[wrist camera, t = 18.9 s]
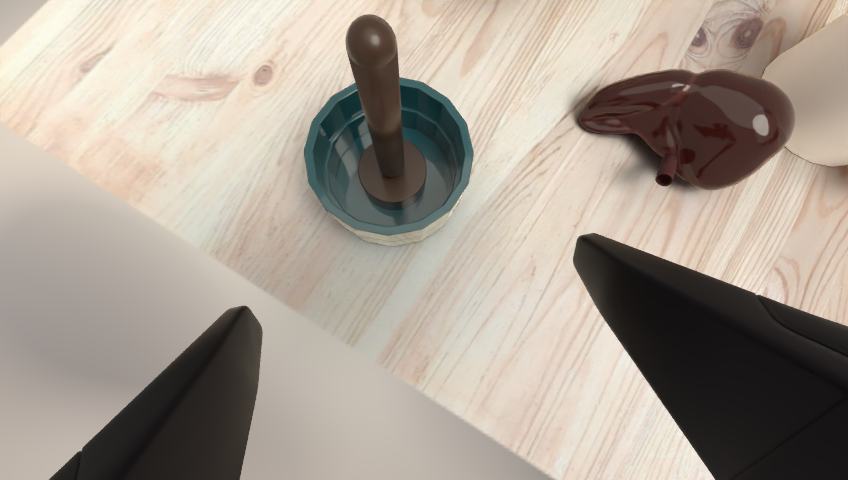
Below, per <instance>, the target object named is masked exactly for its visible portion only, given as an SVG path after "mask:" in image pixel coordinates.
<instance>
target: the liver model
mask: <svg viewBox="0 0 848 480" xmlns="http://www.w3.org/2000/svg"><path fill="white" fill-rule="evenodd" d="M579 122H580V124H581V125H582V126H583V127H584V128H585V129H587V130H589V131H592V132H595V133H600V134H626V133H635V134H637V135H639V136H640V137H641V138H642V139H643V140H644V141H645V142H646V143H647V144H648V145H649V146H650V148H651V149H652V150H653V151H654V152H655V153H656V154H658V155H659V156H661V157H662V162H661V165H660V168H659V170H658V173H657V176H656V182H657V183H658V184H659V185H662V186H668V185H670V184H671V183H672V182H673V178H674V175H675V174H676V175H678V176H679V177H680V178H682V179H683V180H685V181H687V182H688V183H690V184H691V185H693V186H695V187H697V188H700V189H704V190H718V189H723V188H726V187H730V186H733V185H735V184H738V183H740V182H741V181H743V180H745V179H746V178H748V177H750V176H751V175H753V174H754V173H755V172H757V171H758V170H759V169H760V168H761V167H762V166H764V165H765V164H766V163H767V162H768V161H769V160H770V159H771V158H773V157H774V156H775V155H776V154H777V153H778V152H780V151H781V150H782V149H783V148H784V146H785V145H786V144H787V143H788V141H789V139H790V137H791V135H792V133H793V130H794V126H795V111H794V108H793V105H792V103H791V101H790V99H789V97H788V96H787V95H786V93H785V92H784V91H783V90H782V89H780V88H779V87H778V86H776V85H775V84H773V83H772V82H770V81H767V80H765V79H762V78H759V77H755V76H751V75H747V74H743V73H740V72H736V71H731V70H725V69H714V70H708V71H705V72H701V73H694V72H691V71H689V70H684V69H669V70H663V71H657V72H651V73H646V74H641V75H637V76H633V77H629V78H626V79H623V80H619V81H617V82H614V83H611V84H609V85H607V86H605V87H603V88H601V89H600V90H598V91H597V92H595V93H594V94H593V95H592V96H591V97H590V98H589V99H588V100H587V101H586V103H585V104H584V106H583V108H582V110H581V112H580V115H579Z"/></svg>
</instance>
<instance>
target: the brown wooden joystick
mask: <svg viewBox="0 0 848 480" xmlns="http://www.w3.org/2000/svg"><path fill="white" fill-rule="evenodd" d="M346 49H347V53H348V57H349V61H350V64H351V68H352V71H353V75H354V79H355V82H356V86H357V90H358V93H359V97H360V100H361V104H362V108H363V111H364V115H365V118H366V122H367V126H368V129H369V133H370V137H371V140H372V144H371V145H370V146H368V147H367V148H366V150H365V151H364V152H363V154H362V156H361V158H360V161H359V165H358V176H359V180H360V182H361V184H362V186H363V189H364V191H365V193H366V194H367V196H368V197H369V199H370V200H371V201H372V202H373V203H375V204H376V205H378V206H379V207H382V208H384V209H388V210H400V209H404V208H407V207H409V206H411V205H412V204H414V203H415V202H416V201H417V200H418V199H419V198H420V196H421V195H422V193H423V191H424V188H425V182H426V174H427V166H426V161H425V158H424V156H423V154H422V153H421V151H420V150H419V149H418V148H417V147H416V146H415V145H414V144H413V143H411V142H409V141H407V140H405V139H403V130H402V114H401V99H400V83H399V67H398V52H397V41H396V37H395V34H394V32H393V30H392V28H391V27H390V25H389V24H388V23H387V22H386V21H385V20H384V19H382V18H380V17H378V16H376V15H363V16H360V17H358V18H357V19H356V20H354V21H353V22H352V24H351V25H350V27H349V29H348V31H347V35H346Z"/></svg>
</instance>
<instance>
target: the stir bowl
mask: <svg viewBox="0 0 848 480" xmlns="http://www.w3.org/2000/svg"><path fill="white" fill-rule="evenodd" d="M399 83H400V99H401V114H402V130H403V139H405V140H407V141H409V142H411V143H413V144H414V145H415V146H416V147H417V148H418V149H419V150H420V151H421V153H422V154H423V156H424V158H425V161H426V166H427V174H426V182H425V188H424V191H423V193H422V195H421V196H420V198H419V199H418V200H417V201H416V202H415V203H414V204H412V205H411V206H409V207H407V208H404V209H400V210H388V209H384V208H382V207H379V206H378V205H376V204H375V203H373V202H372V201H371V200H370V199H369V197H368V196H367V194H366V193H365V191H364V189H363V186H362V184H361V182H360V180H359V176H358V165H359V161H360V158H361V156H362V154H363V152H364V151H365V150H366V148H367V147H368V146H370V145H371V144H372V140H371V137H370V133H369V129H368V126H367V122H366V118H365V115H364V111H363V108H362V104H361V100H360V97H359V93H358V90H357V86H356V83H354V84H352V85H351V86H349V87H347V88H345V89H344V90H342V91H340V92H338V93H337V94H335V95H333V96H332V97H331V98H330V99H329V100H328V102H327V103H326V104H325V105H324V107H323V108H322V109H321V110H320V112H319V113H318V114H317V115H316V117H315V118H314V119H313V121H312V123H311V127H310V131H309V134H308V138H307V141H306V145H305V149H304V156H305V163H306V169H307V176H308V182H309V184H310V186H311V187H312V189H313V191H314V192H315V194H316V195H317V197H318V198H319V200H320V201H321V203H322V205H323V206H324V208H325V209H326V210H327V211H328V212H329V213H330V214H331V215H332V216H333V217H334V218H335V219H336V220H338V221H339V222H340V223H341V224H342V225H343V226H344V227H345V228H347V229H348V230H350V231H351V232H353V233H354V234H356V235H357V236H359V237H360V238H362V239H363V240H365V241H367V242H372V243H377V244H382V245H387V246H393V247H395V246H400V245H405V244H410V243H415V242H420V241H422V240H423V239H425V238H426V237H428V236H429V235H431V234H433V233H434V232H436V231H437V230H439V229H440V228H442V227H443V226H444V224H445V223H446V221H447V220H448V218H449V217H450V215H451V214H452V212H453V211H454V209H455V208H456V206H457V205H458V203H459V201H460V199H461V197H462V195H463V193H464V191H465V190H466V188H467V186H468V183H469V178H470V173H471V167H472V161H473V156H474V154H473V153H474V152H473V148H472V144H471V139H470V135H469V131H468V127H467V124H466V122H465V120H464V119H463V118H462V116H461V115H460V114H459V112H458V111H457V110H456V108H455V107H454V105H453V104H452V103H451V101H450V100H449V99H448V98H447V97H445V96H444V95H442V94H440V93H439V92H437V91H436V90H434V89H432V88H431V87H429V86H428V85H426V84H424V83H423V82H420V81H415V80H410V79H405V78H400V77H399Z"/></svg>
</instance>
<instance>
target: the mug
mask: <svg viewBox="0 0 848 480" xmlns="http://www.w3.org/2000/svg"><path fill="white" fill-rule="evenodd" d="M762 79H765V80H767V81H770V82H772V83H773V84H775V85H776V86H778V87H779V88H780V89H782V90H783V91H784V92H785V93H786V95H787V96H788V97H789V99H790V101H791V103H792V105H793V108H794V111H795V126H794V130H793V133H792V135H791V137H790V139H789V141H788V143H787V144H786V145H785V147H786V148H787V149H788V150H790V151H791V152H792V153H794V154H796V155H798V156H800V157H801V158H803V159H805V160H807V161H809V162H812V163H816V164H821V165H826V166H830V167H832V166H843V165H848V12H846V13H845V14H843V15H842V16H840V17H839V18H837V19H835V20H834V21H832V22H831V23H829V24H828V25H826V26H824V27H823V28H821V29H820V30H818V31H817V32H815V33H813V34H812V35H810V36H809V37H807V38H806V39H804V40H802V41H801V42H799V43H798V44H796V45H795V46H793V47H792V48H790V49H788V50H787V51H785V52H784V53H782V54H781V55H779V56H778V57H776V58H775V59H774V60H773V61H772V62H771V63H770V64H769V65H768V66H767V67H766V69H765V71H764V73H763V76H762Z"/></svg>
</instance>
